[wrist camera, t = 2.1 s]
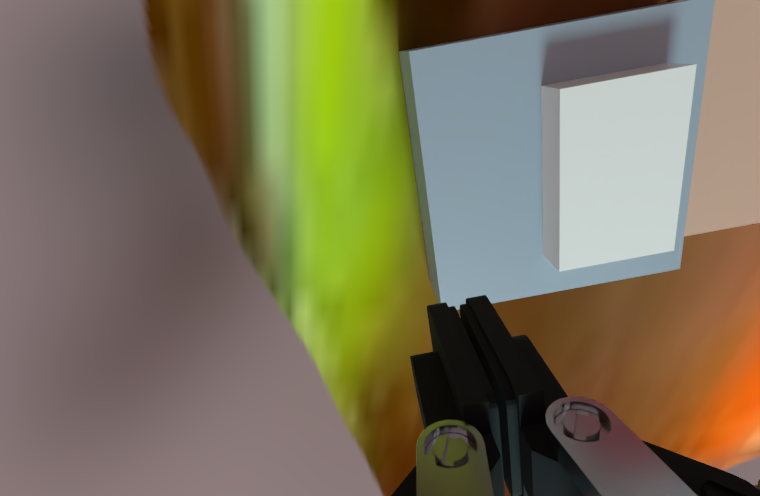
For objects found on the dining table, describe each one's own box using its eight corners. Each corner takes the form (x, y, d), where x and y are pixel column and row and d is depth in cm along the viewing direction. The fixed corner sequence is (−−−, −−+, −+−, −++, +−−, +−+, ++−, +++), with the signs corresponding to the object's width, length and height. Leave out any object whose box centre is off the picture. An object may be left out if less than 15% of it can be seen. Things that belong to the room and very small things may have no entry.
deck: (398, 51, 24) (408, 51, 20) (657, 4, 24) (715, -5, 20) (429, 280, 29) (442, 312, 26) (637, 241, 29) (679, 268, 26)
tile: (541, 85, 21) (559, 89, 19) (666, 62, 21) (696, 64, 19) (543, 255, 25) (559, 271, 23) (649, 235, 25) (673, 250, 23)
